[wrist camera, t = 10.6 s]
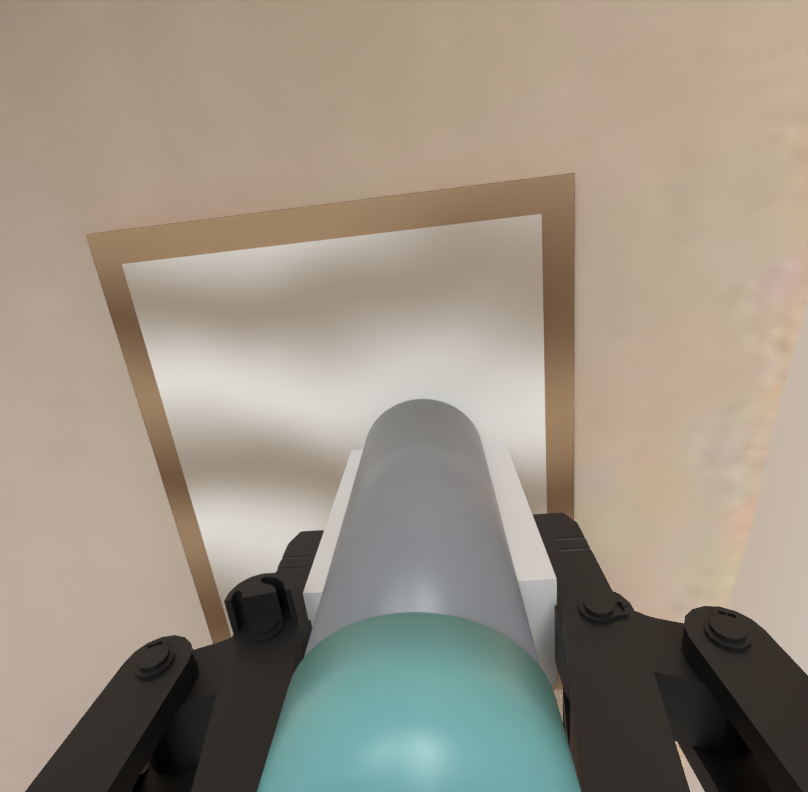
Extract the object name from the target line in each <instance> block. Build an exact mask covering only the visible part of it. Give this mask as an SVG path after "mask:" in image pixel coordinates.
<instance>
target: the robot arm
mask: <svg viewBox="0 0 808 792" xmlns="http://www.w3.org/2000/svg"><path fill="white" fill-rule="evenodd" d="M481 442H482V446H483V450H484V453H485V457H486V461H487V465H488V469H489V473H490V476H491V480H492V484H493V488H494V492H495V496H496V499H497V503H498V507H499V511H500V515H501V519H502V522H503V526H504V530H505V534H506V538H507V542H508V546H509V549H510V553H511V557H512V561H513V565H514V569H515V572H516V576H517V580H518V584H519V588H520V591H521V595H522V599H523V603H524V607H525V611H526V614H527V618H528V622H529V626H530V630H531V634H532V637H533V641H534V645H535V649H536V653H537V657H538V660H539V664H540V667H541V669H542V670H543V671H544V673H545V674H546V676H547V678H548V680H549V682H550V684H551V686H555V685H557V669H558V673H559V676H560V679H561V682H562V686H563V727H564V730H565V734H566V737H567V741H568V745H569V748H570V752H571V756H572V759H573V763H574V766H575V770H576V774H577V777H578V781H579V785H580V788H581V792H690V790H689V786H688V783H687V780H686V777H685V773H684V770H683V767H682V763H681V760H680V757H679V754H678V750H677V747H676V744H675V741H677V742H678V744H679V746H680V748H681V750H682V751H683V753H684V755H685V757H686V758H687V760H688V762H689V764H690V766H691V767H692V769H693V771H694V773H695V774H696V776H697V778H698V780H699V782H700V783H701V785H702V787H703V789H704V791H705V792H808V675H807V674H806V673H805V672H804V671H803V670H802V669H801V668H800V667H799V666H798V665H797V664H796V663H795V662H794V661H793V660H792V659H791V657H790V656H789V655H788V654H787V653H786V652H785V651H784V650H783V649H782V648H781V647H780V646H779V645H778V644H777V643H776V642H775V640H774V639H773V638H772V637H771V636H770V635H769V634H768V633H767V632H766V631H765V630H764V629H763V628H762V627H760V626H759V625H758V624H757V623H756V622H754V621H753V620H752V619H750V618H748V617H746V616H744V615H742V614H740V613H738V612H736V611H733V610H729V609H725V608H722V607H712V606H703V607H699V608H696V609H692V610H691V611H690V612H689V613H688V614H687V615H686V616H685V622H684V624H683V623H678V622H673V621H667V620H662V619H657V618H653V617H649V616H646V615H643V614H641V613H639V612H636V611H634V609H633V607H632V606H631V604H630V603H629V602H628V601H627V600H626V599H625V598H623V597H622V596H621V595H620V594H618V593H616V592H613V591H612V589H611V587H610V585H609V584H608V582H607V580H606V578H605V576H604V574H603V572H602V570H601V568H600V566H599V564H598V562H597V560H596V558H595V557H594V555H593V553H592V551H591V550H590V547H589V545H588V543H587V541H586V539H584V535H583V533H582V532H581V530H580V528H579V526H578V524H577V523H576V522H575V521H574V520H572V519H571V518H570V517H569V516H567V515H566V514H565V513H563V512H561V513H547V514H532V512H531V509H530V507H529V504H528V501H527V499H526V496H525V493H524V491H523V488H522V485H521V483H520V480H519V477H518V475H517V472H516V470H515V467H514V464H513V462H512V459H511V456H510V454H509V451H508V448H507V446H506V443H505V440H504V438H503V439H491V440H481ZM362 452H363V450H354V451H351V454H350V456H349V459H348V462H347V465H346V468H345V471H344V474H343V477H342V480H341V483H340V486H339V489H338V492H337V495H336V497H335V500H334V503H333V506H332V509H331V512H330V515H329V518H328V521H327V524H326V527H325V530H315V531H301V532H300V533H299V534H298V535H297V536H296V537H295V538H294V539H292V540H291V541H290V542H289V543H288V545H287V548H286V550H285V552H284V554H283V557H282V560H281V561H280V563H279V566H278V570H277V571H276V572H275V573H262V574H259V575H256V576H252V577H250V578H248V579H246V580H244V581H242V582H240V583H239V584H238V585H236V586H235V587H234V588H233V589H232V590H231V591H230V592H229V593H228V595H227V597H226V599H225V600H224V603H225V606H226V610H227V613H228V617H229V621H230V624H231V628H232V631H233V636H232V637H231V638H229V639H226V640H224V641H221V642H218V643H215V644H212V645H209V646H205V647H202V648H199V649H196V650H193V648H192V645H191V643H190V642H189V641H188V640H187V639H186V638H185V637H181V636H176V635H174V636H167V637H162V638H159V639H157V640H154V641H152V642H149V643H147V644H146V645H144V646H143V647H141V648H140V649H138V650H137V651H135V652H134V653H133V654H132V655H131V656H130V657H129V658H128V660H127V661H126V662H125V663H124V664H123V665H122V667H121V668H120V669H119V670H118V672H117V673H116V674H115V676H114V677H113V678H112V680H111V681H110V682H109V683H108V685H107V686H106V687H105V689H104V690H103V691H102V693H101V694H100V695H99V696H98V698H97V699H96V700H95V702H94V703H93V704H92V706H91V707H90V708H89V709H88V711H87V712H86V713H85V715H84V716H83V717H82V718H81V720H80V721H79V722H78V724H77V725H76V726H75V728H74V729H73V730H72V731H71V733H70V734H69V735H68V737H67V738H66V739H65V741H64V742H63V743H62V744H61V746H60V747H59V748H58V750H57V751H56V752H55V754H54V755H53V756H52V757H51V759H50V760H49V761H48V763H47V764H46V765H45V767H44V768H43V769H42V770H41V772H40V773H39V774H38V776H37V777H36V778H35V780H34V781H33V782H32V783H31V785H30V786H29V787H28V789H27V790H26V791H25V792H257V790H258V786H259V783H260V780H261V776H262V773H263V770H264V766H265V763H266V760H267V756H268V753H269V750H270V746H271V743H272V740H273V737H274V733H275V730H276V727H277V723H278V720H279V717H280V713H281V710H282V707H283V703H284V700H285V697H286V693H287V690H288V687H289V684H290V681H291V678H292V676H293V674H294V672H295V670H296V669H297V667H298V665H299V664H300V662H301V661H302V660H303V659H304V655H305V652H306V648H307V645H308V641H309V638H310V634H311V631H312V627H313V624H314V620H315V617H316V613H317V610H318V606H319V603H320V599H321V596H322V592H323V589H324V585H325V582H326V578H327V575H328V571H329V568H330V564H331V561H332V557H333V554H334V550H335V547H336V543H337V540H338V536H339V533H340V529H341V526H342V522H343V519H344V515H345V512H346V508H347V505H348V501H349V498H350V494H351V491H352V487H353V484H354V480H355V477H356V473H357V470H358V466H359V463H360V459H361V456H362Z"/></svg>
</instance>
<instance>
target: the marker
mask: <svg viewBox="0 0 808 792" xmlns="http://www.w3.org/2000/svg"><path fill="white" fill-rule="evenodd" d="M257 792H581V788H580V785H579V781H578V777H577V774H576V770H575V766H574V763H573V759H572V756H571V752H570V748H569V745H568V741H567V737H566V734H565V730H564V727H563V723H562V719H561V716H560V712H559V709H558V705H557V701H556V698H555V695H554V692H553V689H552V686H551V684H550V682H549V680H548V678H547V676H546V674H545V673H544V671H543V670H542V669H541V667H540V664H539V660H538V657H537V653H536V649H535V645H534V641H533V637H532V634H531V630H530V626H529V622H528V618H527V614H526V611H525V607H524V603H523V599H522V595H521V591H520V588H519V584H518V580H517V576H516V572H515V569H514V565H513V561H512V557H511V553H510V549H509V546H508V542H507V538H506V534H505V530H504V526H503V522H502V519H501V515H500V511H499V507H498V503H497V499H496V496H495V492H494V488H493V484H492V480H491V476H490V473H489V469H488V465H487V461H486V457H485V453H484V450H483V446H482V442H481V439H480V435H479V433H478V431H477V429H476V427H475V426H474V424H473V423H472V421H471V420H470V419H469V418H468V417H467V416H466V415H465V414H464V413H463V412H461V411H460V410H458V409H457V408H455V407H454V406H451V405H449V404H447V403H444V402H441V401H437V400H432V399H414V400H409V401H405V402H402V403H399V404H397V405H395V406H393V407H391V408H390V409H388V410H386V411H385V412H384V413H383V414H382V415H380V417H379V418H378V419H377V420H376V421H375V422H374V424H373V425H372V427H371V429H370V431H369V433H368V435H367V438H366V442H365V445H364V449H363V452H362V456H361V459H360V463H359V466H358V470H357V473H356V477H355V480H354V484H353V487H352V491H351V494H350V498H349V501H348V505H347V508H346V512H345V515H344V519H343V522H342V526H341V529H340V533H339V536H338V540H337V543H336V547H335V550H334V554H333V557H332V561H331V564H330V568H329V571H328V575H327V578H326V582H325V585H324V589H323V592H322V596H321V599H320V603H319V606H318V610H317V613H316V617H315V620H314V624H313V627H312V631H311V634H310V638H309V641H308V645H307V648H306V652H305V655H304V659H303V660H302V661H301V662H300V664H299V665H298V667H297V669H296V670H295V672H294V674H293V676H292V678H291V681H290V684H289V687H288V690H287V693H286V697H285V700H284V703H283V707H282V710H281V713H280V717H279V720H278V723H277V727H276V730H275V733H274V737H273V740H272V743H271V746H270V750H269V753H268V756H267V760H266V763H265V766H264V770H263V773H262V776H261V780H260V783H259V786H258V790H257Z"/></svg>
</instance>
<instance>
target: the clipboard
mask: <svg viewBox="0 0 808 792" xmlns="http://www.w3.org/2000/svg"><path fill="white" fill-rule="evenodd" d="M574 230H575V173H570V174H562V175H554V176H546V177H538V178H530V179H522V180H514V181H506V182H498V183H491V184H483V185H475V186H467V187H459V188H451V189H443V190H435V191H427V192H419V193H411V194H403V195H395V196H387V197H379V198H371V199H363V200H355V201H348V202H340V203H332V204H324V205H316V206H308V207H300V208H292V209H284V210H276V211H268V212H260V213H252V214H244V215H236V216H228V217H220V218H213V219H205V220H197V221H189V222H181V223H173V224H165V225H157V226H149V227H141V228H133V229H125V230H117V231H109V232H101V233H93V234H86V237H87V240H88V244H89V247H90V250H91V253H92V256H93V260H94V263H95V266H96V269H97V272H98V276H99V279H100V282H101V285H102V288H103V292H104V295H105V298H106V301H107V304H108V308H109V311H110V314H111V317H112V320H113V324H114V327H115V330H116V333H117V336H118V340H119V343H120V346H121V349H122V352H123V356H124V359H125V362H126V365H127V368H128V372H129V375H130V378H131V381H132V384H133V388H134V391H135V394H136V397H137V401H138V404H139V407H140V410H141V413H142V417H143V420H144V423H145V426H146V429H147V433H148V436H149V439H150V442H151V445H152V449H153V452H154V455H155V458H156V461H157V465H158V468H159V471H160V474H161V477H162V481H163V484H164V487H165V490H166V493H167V497H168V500H169V503H170V506H171V509H172V513H173V516H174V519H175V522H176V525H177V529H178V532H179V535H180V538H181V541H182V545H183V548H184V551H185V554H186V557H187V561H188V564H189V567H190V570H191V574H192V577H193V580H194V583H195V586H196V590H197V593H198V596H199V599H200V602H201V606H202V609H203V612H204V615H205V618H206V622H207V625H208V628H209V631H210V634H211V638H212V641H213V644H215V643H218V642H221V641H224V640H226V639H229V638H231V637H232V636H233V631H232V628H231V624H230V621H229V617H228V613H227V610H226V606H225V603H224V600H225V599H226V597H227V595H228V593H229V592H230V591H231V590H232V589H233V588H234V587H235V586H236V585H238V584H239V583H240V582H242V581H244V580H246V579H248V578H250V577H252V576H256V575H259V574H262V573H275V572H276V571H277V570H278V566H279V563H280V561H281V560H282V557H283V554H284V552H285V550H286V548H287V545H288V543H289V542H290V541H291V540H292V539H294V538H295V537H296V536H297V535H298V534H299V533H300V532H301V531H315V530H325V527H326V524H327V521H328V518H329V515H330V512H331V509H332V506H333V503H334V500H335V497H336V495H337V492H338V489H339V486H340V483H341V480H342V477H343V474H344V471H345V468H346V465H347V462H348V459H349V456H350V454H351V451H354V450H363V449H364V445H365V442H366V438H367V435H368V433H369V431H370V429H371V427H372V425H373V424H374V422H375V421H376V420H377V419H378V418H379V417H380V415H382V414H383V413H384V412H385V411H386V410H388V409H390V408H391V407H393V406H395V405H397V404H399V403H402V402H405V401H409V400H414V399H432V400H437V401H441V402H444V403H447V404H449V405H451V406H454V407H455V408H457V409H458V410H460V411H461V412H463V413H464V414H465V415H466V416H467V417H468V418H469V419H470V420H471V421H472V423H473V424H474V426H475V427H476V429H477V431H478V433H479V435H480V439H481V440H491V439H503V438H504V440H505V443H506V446H507V448H508V451H509V454H510V456H511V459H512V462H513V464H514V467H515V470H516V472H517V475H518V477H519V480H520V483H521V485H522V488H523V491H524V493H525V496H526V499H527V501H528V504H529V507H530V509H531V512H532V514H547V513H561V512H563V513H565V514H566V515H567V516H569V517H570V518H571V519H572V520H574ZM552 689H563V686H562V682H561V679H560V676H559V673H558V669H557V685H555V686H552Z"/></svg>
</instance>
